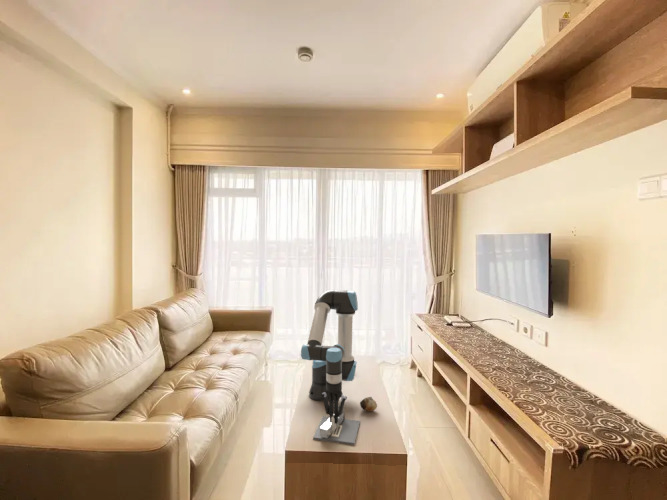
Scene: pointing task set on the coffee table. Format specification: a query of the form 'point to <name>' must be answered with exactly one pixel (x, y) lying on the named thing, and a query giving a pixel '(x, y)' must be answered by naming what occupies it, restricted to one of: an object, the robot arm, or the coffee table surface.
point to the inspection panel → (340, 432)
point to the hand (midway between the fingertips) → (333, 429)
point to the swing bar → (326, 427)
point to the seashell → (368, 404)
